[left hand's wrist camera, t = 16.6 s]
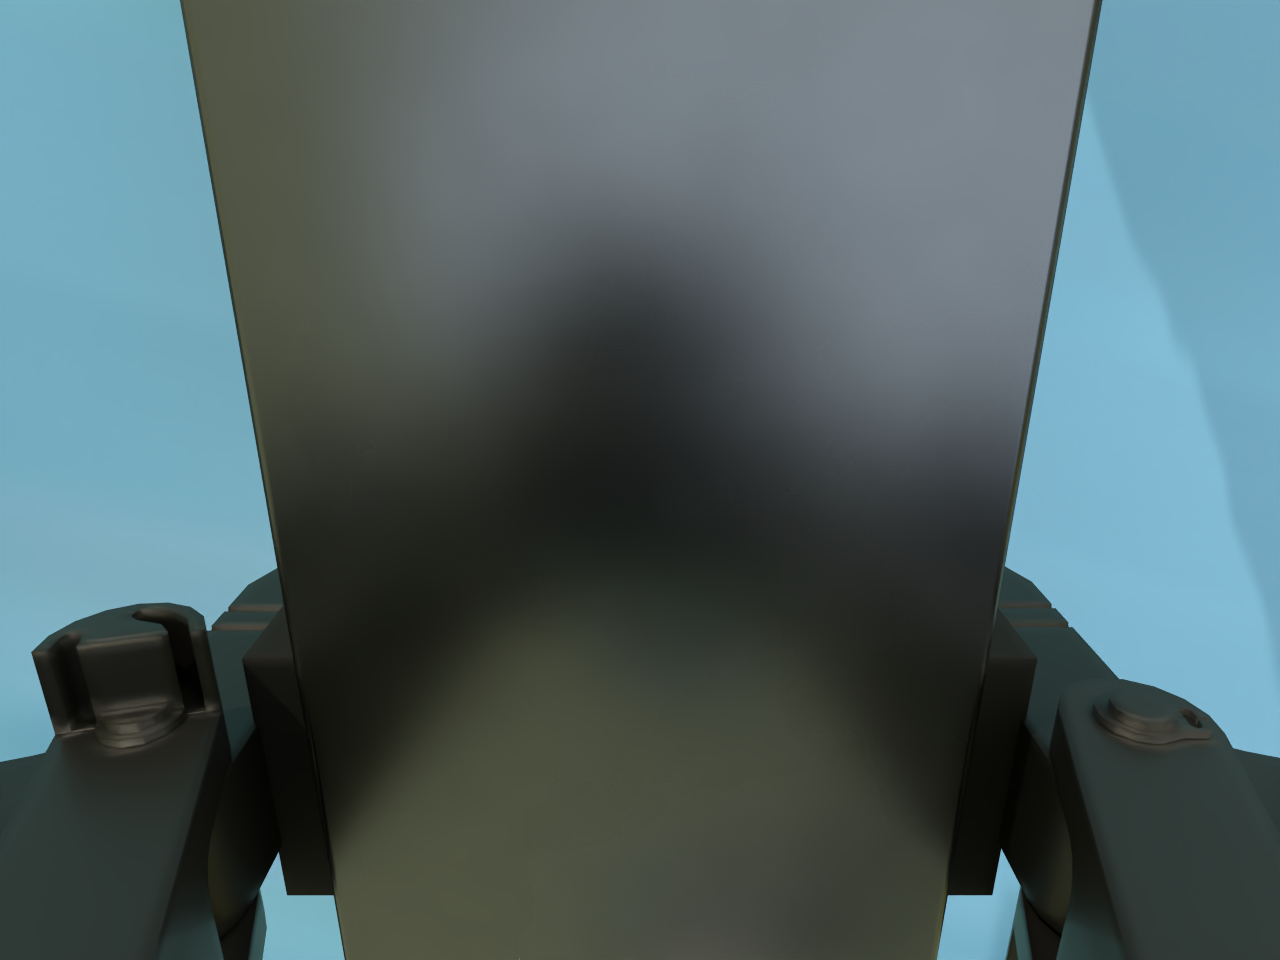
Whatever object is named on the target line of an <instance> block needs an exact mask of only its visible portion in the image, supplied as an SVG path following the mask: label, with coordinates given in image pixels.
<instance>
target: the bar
mask: <svg viewBox="0 0 1280 960" xmlns="http://www.w3.org/2000/svg"><path fill="white" fill-rule="evenodd" d="M180 3H181V9H182V15H183V20H184V26H185V32H186V38H187V44H188V49H189V55H190V61H191V67H192V73H193V79H194V84H195V90H196V96H197V102H198V108H199V113H200V119H201V125H202V131H203V137H204V143H205V148H206V154H207V160H208V166H209V172H210V177H211V183H212V189H213V195H214V201H215V207H216V212H217V218H218V224H219V230H220V236H221V241H222V247H223V253H224V259H225V265H226V271H227V276H228V282H229V288H230V294H231V300H232V305H233V311H234V317H235V323H236V329H237V335H238V340H239V346H240V352H241V358H242V364H243V369H244V375H245V381H246V387H247V393H248V399H249V404H250V410H251V416H252V422H253V428H254V434H255V439H256V445H257V451H258V457H259V463H260V468H261V474H262V480H263V486H264V492H265V498H266V503H267V509H268V515H269V521H270V527H271V532H272V538H273V544H274V550H275V556H276V562H277V567H278V573H279V579H280V585H281V591H282V596H283V602H284V608H285V614H286V620H287V626H288V631H289V637H290V643H291V649H292V655H293V660H294V666H295V672H296V678H297V684H298V690H299V695H300V701H301V707H302V713H303V719H304V725H305V730H306V736H307V742H308V748H309V754H310V759H311V765H312V771H313V777H314V783H315V789H316V794H317V800H318V806H319V812H320V818H321V823H322V829H323V835H324V841H325V847H326V853H327V858H328V864H329V870H330V876H331V882H332V887H333V893H334V899H335V905H336V911H337V917H338V922H339V928H340V934H341V940H342V946H343V951H344V957H345V960H937V955H938V949H939V943H940V937H941V932H942V926H943V920H944V914H945V908H946V903H947V897H948V891H949V885H950V879H951V874H952V868H953V862H954V856H955V850H956V845H957V839H958V833H959V827H960V822H961V816H962V810H963V804H964V798H965V793H966V787H967V781H968V775H969V769H970V764H971V758H972V752H973V746H974V740H975V735H976V729H977V723H978V717H979V712H980V706H981V700H982V694H983V688H984V683H985V677H986V671H987V665H988V659H989V654H990V648H991V642H992V636H993V630H994V625H995V619H996V613H997V607H998V602H999V596H1000V590H1001V584H1002V578H1003V573H1004V567H1005V561H1006V555H1007V549H1008V544H1009V538H1010V532H1011V526H1012V520H1013V515H1014V509H1015V503H1016V497H1017V492H1018V486H1019V480H1020V474H1021V468H1022V463H1023V457H1024V451H1025V445H1026V439H1027V434H1028V428H1029V422H1030V416H1031V410H1032V405H1033V399H1034V393H1035V387H1036V382H1037V376H1038V370H1039V364H1040V358H1041V353H1042V347H1043V341H1044V335H1045V329H1046V324H1047V318H1048V312H1049V306H1050V300H1051V295H1052V289H1053V283H1054V277H1055V272H1056V266H1057V260H1058V254H1059V248H1060V243H1061V237H1062V231H1063V225H1064V219H1065V214H1066V208H1067V202H1068V196H1069V190H1070V185H1071V179H1072V173H1073V167H1074V162H1075V156H1076V150H1077V144H1078V138H1079V133H1080V127H1081V121H1082V115H1083V109H1084V104H1085V98H1086V92H1087V86H1088V80H1089V75H1090V69H1091V63H1092V57H1093V52H1094V46H1095V40H1096V34H1097V28H1098V23H1099V17H1100V11H1101V5H1102V0H180Z"/></svg>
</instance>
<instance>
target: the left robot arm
mask: <svg viewBox="0 0 1280 960" xmlns="http://www.w3.org/2000/svg"><path fill="white" fill-rule="evenodd" d="M1051 605H1052V604H1051V603H1050V602H1049V601H1048V599H1047V598H1046V597H1045V596H1044V595H1043V594H1042V593H1041V592H1040V591H1039V589H1038V588H1037V587H1036V586H1035V585H1034V584H1033V583H1032V582H1031V581H1029V580H1028V579H1026V578H1024V577H1022V576H1021V575H1019V574H1017V573H1015V572H1014V571H1012V570H1010V569H1008V568H1007V567H1004V573H1003V578H1002V584H1001V590H1000V596H999V602H998V607H997V613H996V619H995V625H994V630H993V636H992V642H991V648H990V654H989V659H988V665H987V671H986V677H985V683H984V688H983V694H982V700H981V706H980V712H979V717H978V723H977V729H976V735H975V740H974V746H973V752H972V758H971V764H970V769H969V775H968V781H967V787H966V793H965V798H964V804H963V810H962V816H961V822H960V827H959V833H958V839H957V845H956V850H955V856H954V862H953V868H952V874H951V879H950V885H949V891H948V895H992V894H993V889H994V883H995V878H996V873H997V868H998V862H999V857H1000V852H1001V849H1002V850H1003V852H1004V854H1005V856H1006V858H1007V860H1008V862H1009V864H1010V866H1011V868H1012V870H1013V872H1014V874H1015V876H1016V878H1017V880H1018V882H1019V883H1020V885H1021V887H1020V891H1019V896H1018V901H1017V906H1016V911H1015V916H1014V920H1013V925H1012V930H1011V935H1010V940H1009V945H1008V950H1007V954H1006V959H1005V960H1280V758H1277V757H1272V756H1267V755H1261V754H1256V753H1251V752H1246V751H1242V750H1238V749H1234V748H1232V746H1231V744H1230V742H1229V740H1228V738H1227V737H1226V735H1225V733H1224V732H1223V731H1222V730H1221V729H1220V727H1219V726H1218V725H1217V724H1216V723H1215V722H1214V720H1213V719H1212V718H1211V717H1210V716H1209V715H1208V714H1206V713H1205V712H1203V711H1202V710H1200V709H1199V708H1197V707H1196V706H1194V705H1192V704H1191V703H1189V702H1188V701H1186V700H1185V699H1183V698H1180V697H1178V696H1176V695H1173V694H1171V693H1168V692H1166V691H1164V690H1161V689H1159V688H1156V687H1154V686H1150V685H1145V684H1141V683H1137V682H1132V681H1128V680H1124V679H1119V678H1118V677H1117V676H1116V675H1115V674H1114V673H1113V672H1112V671H1111V669H1110V668H1109V667H1108V666H1107V665H1106V664H1105V663H1104V662H1103V661H1102V659H1101V658H1100V657H1099V656H1098V655H1097V654H1096V653H1095V652H1094V651H1093V649H1092V648H1091V647H1090V646H1089V645H1088V644H1087V643H1086V642H1085V641H1084V639H1083V638H1082V637H1081V636H1080V635H1079V634H1078V633H1077V632H1076V631H1075V629H1074V628H1073V627H1068V622H1067V621H1066V619H1065V618H1064V617H1063V616H1062V615H1061V614H1060V613H1059V612H1058V611H1057V609H1056V608H1052V607H1051ZM228 608H229V610H228V612H224V613H223V614H222V615H221V616H220V617H219V618H218V619H217V621H216V622H215V623H214V624H213V625H212V630H211V631H207V630H206V625H205V620H204V616H203V615H201V614H200V613H198V612H197V611H196V610H194V609H193V608H191V607H188V606H183V605H178V604H172V603H149V604H136V605H131V606H126V607H121V608H116V609H111V610H106V611H103V612H100V613H98V614H95V615H92V616H89V617H86V618H83V619H80V620H78V621H75V622H73V623H71V624H69V625H68V626H66V627H64V628H62V629H60V630H59V631H57V632H55V633H53V634H51V635H49V636H48V637H47V638H46V639H45V640H44V641H43V642H42V643H41V644H40V645H38V646H37V647H36V648H35V649H34V650H33V651H32V652H31V653H32V656H33V660H34V663H35V667H36V670H37V673H38V677H39V680H40V684H41V687H42V691H43V694H44V697H45V701H46V704H47V708H48V711H49V714H50V718H51V721H52V725H53V728H54V732H55V736H54V738H53V740H52V742H51V744H50V746H49V747H48V749H47V751H46V753H42V754H38V755H34V756H29V757H24V758H19V759H14V760H9V761H3V762H0V960H262V958H263V950H264V943H265V936H266V929H267V927H266V919H265V912H264V906H263V901H262V896H261V891H260V887H261V885H262V883H263V881H264V879H265V877H266V875H267V873H268V871H269V869H270V868H271V866H272V864H273V862H274V860H275V858H276V856H277V854H278V852H279V855H280V860H281V866H282V871H283V876H284V881H285V886H286V892H287V895H334V893H333V887H332V882H331V876H330V870H329V864H328V858H327V853H326V847H325V841H324V835H323V829H322V823H321V818H320V812H319V806H318V800H317V794H316V789H315V783H314V777H313V771H312V765H311V759H310V754H309V748H308V742H307V736H306V730H305V725H304V719H303V713H302V707H301V701H300V695H299V690H298V684H297V678H296V672H295V666H294V660H293V655H292V649H291V643H290V637H289V631H288V626H287V620H286V614H285V608H284V602H283V596H282V591H281V585H280V579H279V573H278V568H277V569H275V570H273V571H272V572H270V573H268V574H266V575H265V576H263V577H261V578H259V579H258V580H256V581H254V582H252V583H251V584H249V585H248V586H247V587H246V588H245V589H244V590H243V591H242V593H241V594H240V595H239V596H238V597H237V598H236V599H235V600H234V602H233V603H232V604H231V605H230V606H229V607H228Z"/></svg>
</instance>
